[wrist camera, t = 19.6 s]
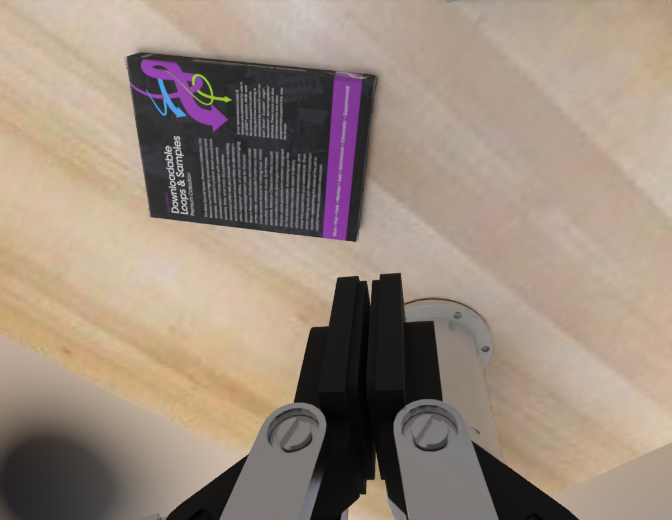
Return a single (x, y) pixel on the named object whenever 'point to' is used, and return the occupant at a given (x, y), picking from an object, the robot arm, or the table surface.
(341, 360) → the robot arm
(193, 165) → the box
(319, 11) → the table surface
